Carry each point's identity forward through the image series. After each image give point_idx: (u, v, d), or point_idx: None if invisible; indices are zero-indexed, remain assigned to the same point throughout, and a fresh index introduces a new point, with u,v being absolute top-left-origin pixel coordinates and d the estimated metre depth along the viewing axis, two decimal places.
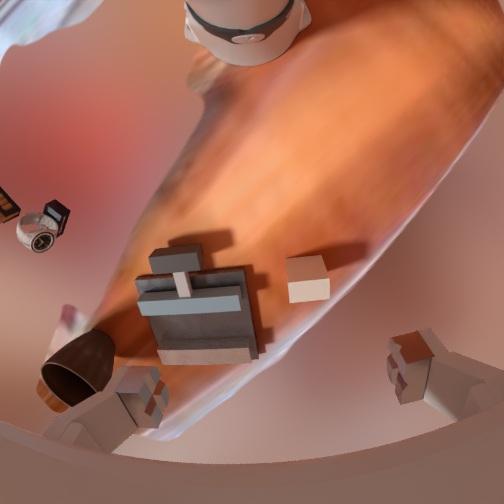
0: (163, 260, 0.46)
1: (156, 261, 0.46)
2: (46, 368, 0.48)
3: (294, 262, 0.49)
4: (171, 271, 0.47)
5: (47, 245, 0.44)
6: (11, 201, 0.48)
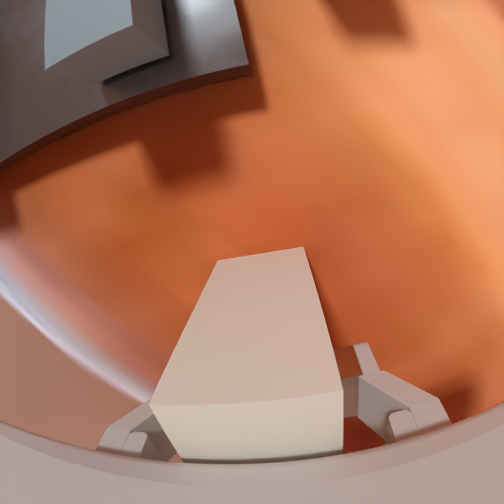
0: None
1: None
2: None
3: None
4: None
5: None
6: None
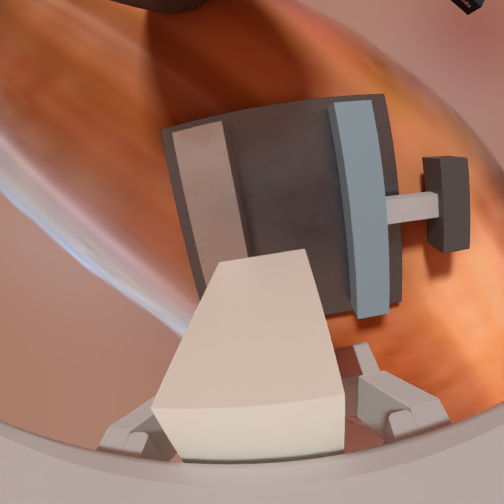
0: (463, 186, 0.20)
1: (461, 172, 0.20)
2: None
3: None
4: (445, 198, 0.21)
5: None
6: None
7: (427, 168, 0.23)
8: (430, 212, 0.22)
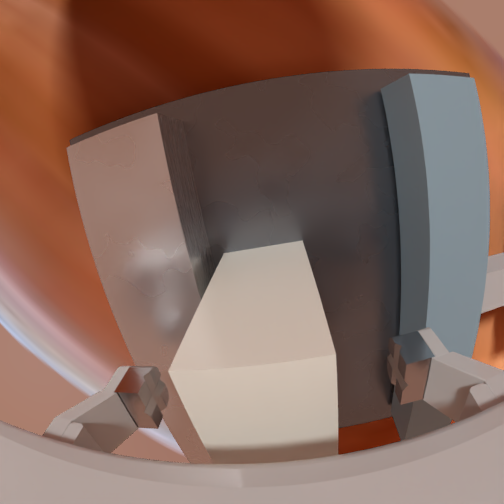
0: None
1: None
2: None
3: None
4: None
5: None
6: None
7: None
8: None
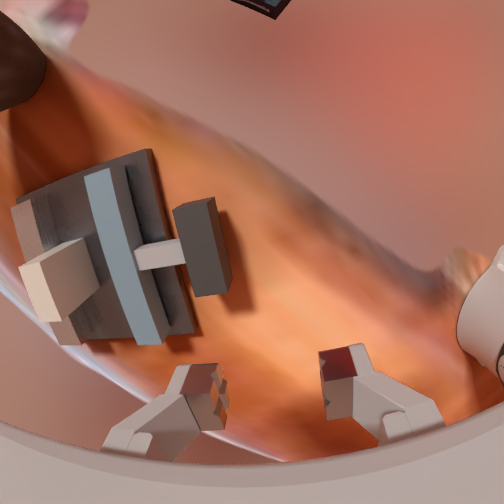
0: (204, 233, 0.25)
1: (200, 219, 0.25)
2: None
3: (79, 254, 0.29)
4: (184, 247, 0.26)
5: None
6: None
7: None
8: (179, 258, 0.27)
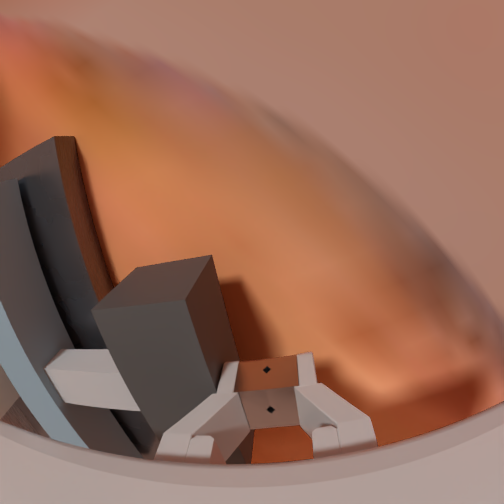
0: (186, 376, 0.08)
1: (170, 342, 0.08)
2: None
3: None
4: (138, 396, 0.09)
5: None
6: None
7: None
8: (134, 402, 0.10)
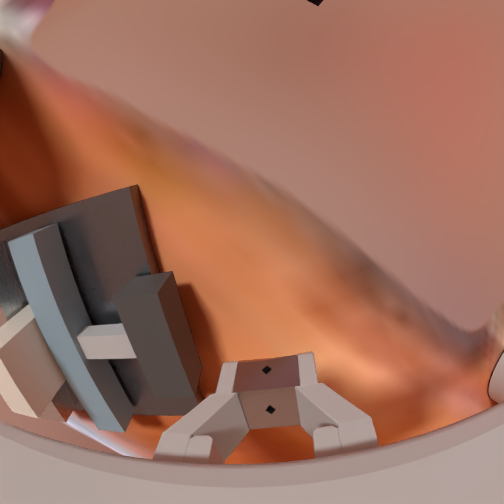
0: (158, 331, 0.17)
1: (151, 313, 0.17)
2: None
3: None
4: (134, 344, 0.18)
5: None
6: None
7: None
8: (131, 352, 0.19)
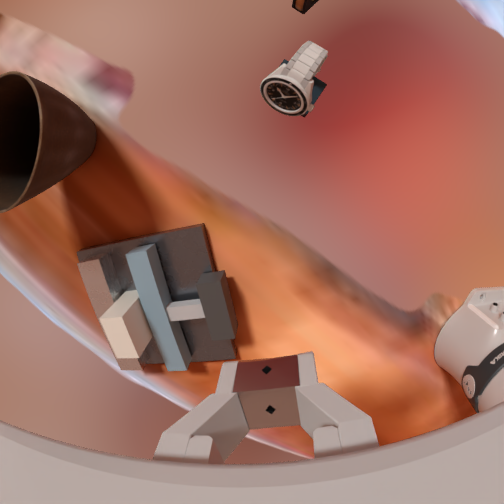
0: (218, 300, 0.36)
1: (216, 291, 0.35)
2: (23, 77, 0.20)
3: None
4: (204, 308, 0.36)
5: (272, 99, 0.26)
6: (317, 0, 0.28)
7: None
8: (200, 314, 0.38)
